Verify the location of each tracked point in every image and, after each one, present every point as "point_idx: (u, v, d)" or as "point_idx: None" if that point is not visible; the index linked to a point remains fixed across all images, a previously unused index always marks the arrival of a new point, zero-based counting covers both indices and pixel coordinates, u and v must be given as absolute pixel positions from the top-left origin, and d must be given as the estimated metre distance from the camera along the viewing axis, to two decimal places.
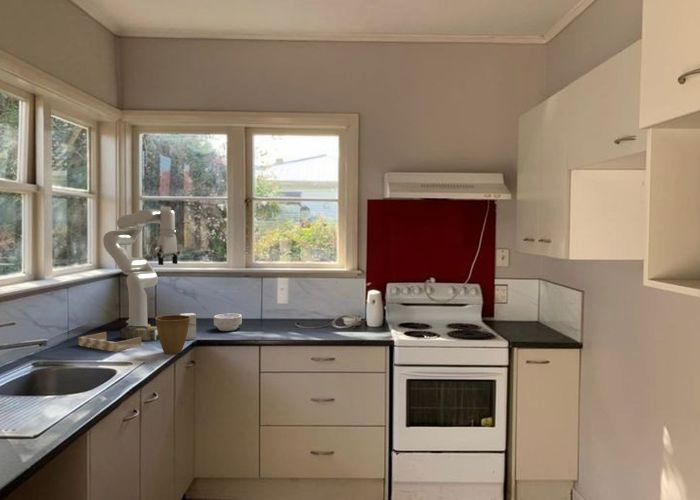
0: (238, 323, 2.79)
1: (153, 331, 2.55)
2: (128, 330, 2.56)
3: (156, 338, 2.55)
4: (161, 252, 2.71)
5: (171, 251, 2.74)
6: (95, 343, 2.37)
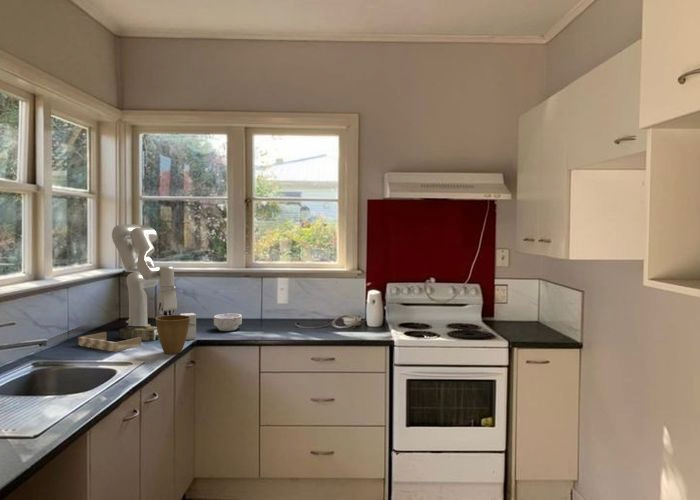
0: (238, 323, 2.79)
1: (152, 331, 2.55)
2: (127, 330, 2.56)
3: (155, 338, 2.55)
4: (165, 311, 2.71)
5: (171, 307, 2.73)
6: (95, 343, 2.37)
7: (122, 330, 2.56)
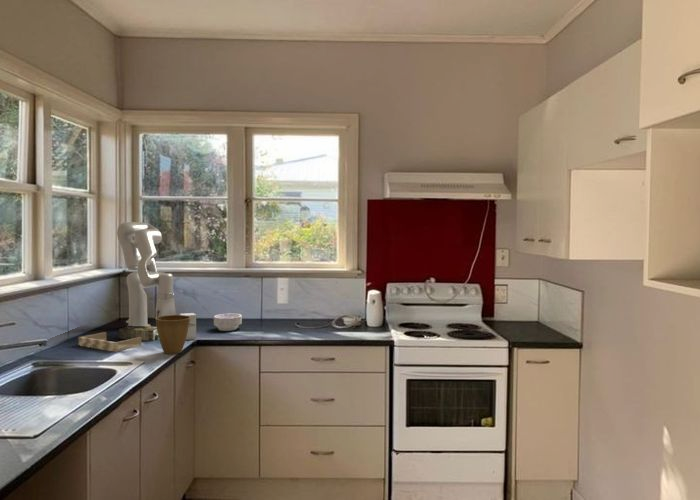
0: (238, 323, 2.79)
1: (152, 331, 2.54)
2: (126, 330, 2.56)
3: (155, 338, 2.55)
4: None
5: None
6: (95, 343, 2.37)
7: (121, 330, 2.56)
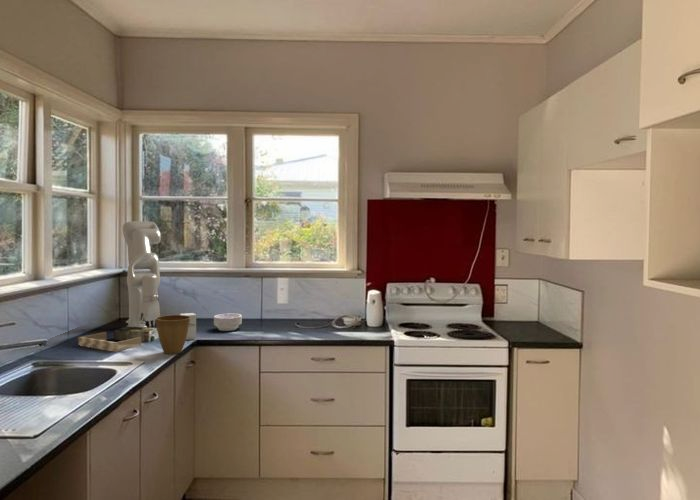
0: (238, 323, 2.79)
1: (147, 332, 2.52)
2: (122, 331, 2.53)
3: (150, 339, 2.52)
4: (147, 321, 2.62)
5: (153, 318, 2.63)
6: (95, 343, 2.37)
7: (117, 331, 2.54)
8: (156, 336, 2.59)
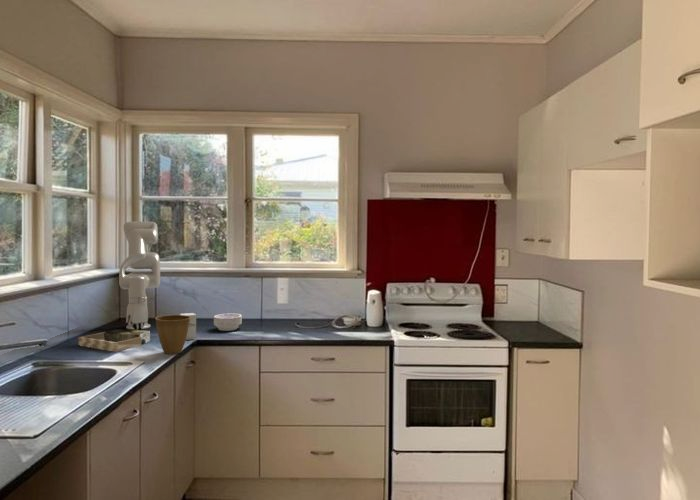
0: (238, 323, 2.79)
1: (138, 335, 2.45)
2: (112, 334, 2.46)
3: (141, 342, 2.45)
4: (134, 324, 2.55)
5: (141, 320, 2.57)
6: (95, 343, 2.37)
7: (107, 334, 2.47)
8: (147, 339, 2.52)
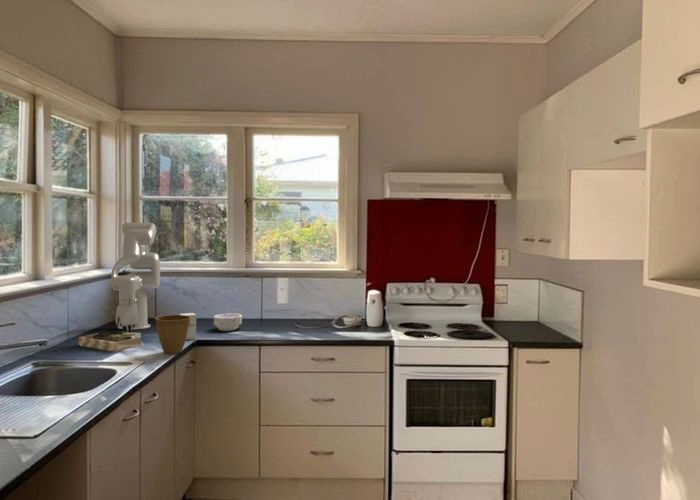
0: (238, 323, 2.79)
1: (129, 337, 2.40)
2: (102, 337, 2.41)
3: None
4: (124, 326, 2.50)
5: (131, 322, 2.51)
6: (95, 343, 2.37)
7: (97, 337, 2.41)
8: None
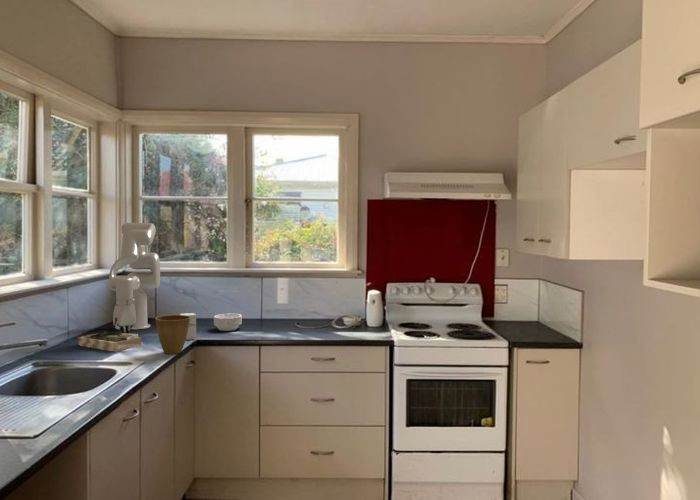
0: (238, 323, 2.79)
1: (125, 338, 2.38)
2: (99, 337, 2.40)
3: None
4: None
5: (129, 323, 2.50)
6: (95, 343, 2.37)
7: (94, 337, 2.40)
8: None
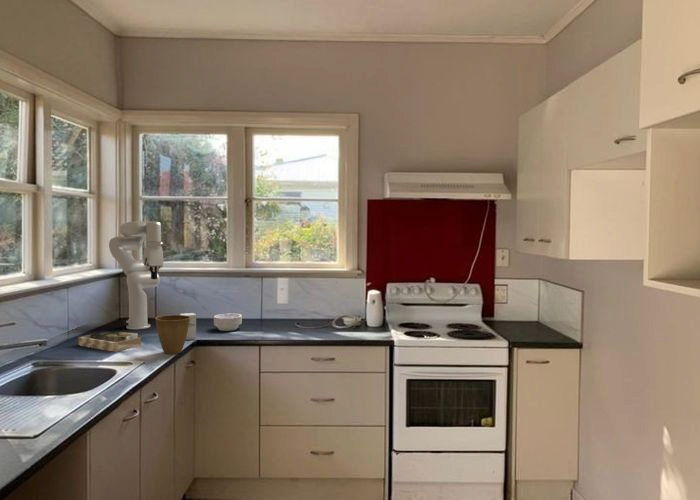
0: (238, 323, 2.79)
1: (124, 338, 2.39)
2: (98, 336, 2.41)
3: None
4: (151, 266, 2.70)
5: (157, 263, 2.71)
6: (95, 343, 2.37)
7: (94, 336, 2.42)
8: None
